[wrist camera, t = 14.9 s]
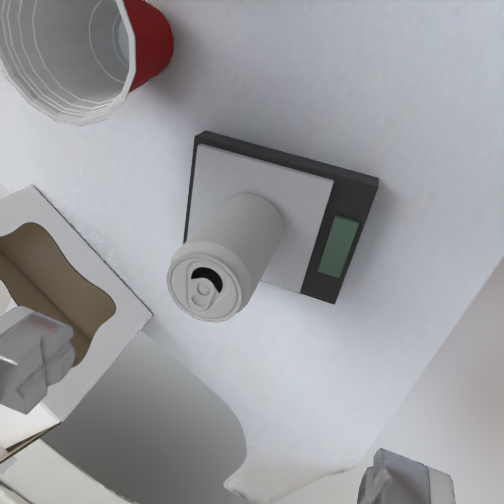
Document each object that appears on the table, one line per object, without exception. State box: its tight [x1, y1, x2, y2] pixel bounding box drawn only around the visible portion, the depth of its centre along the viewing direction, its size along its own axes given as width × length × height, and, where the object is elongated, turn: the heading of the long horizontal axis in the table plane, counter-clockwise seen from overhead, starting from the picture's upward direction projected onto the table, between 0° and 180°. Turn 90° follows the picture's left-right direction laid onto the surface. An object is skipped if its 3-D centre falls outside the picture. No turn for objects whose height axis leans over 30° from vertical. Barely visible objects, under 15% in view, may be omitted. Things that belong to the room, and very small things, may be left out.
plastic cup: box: [0, 0, 173, 126], centre depth 31 cm, size 11×11×12 cm
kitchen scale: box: [183, 131, 379, 304], centre depth 39 cm, size 17×13×3 cm
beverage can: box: [167, 194, 283, 322], centre depth 33 cm, size 6×6×12 cm
